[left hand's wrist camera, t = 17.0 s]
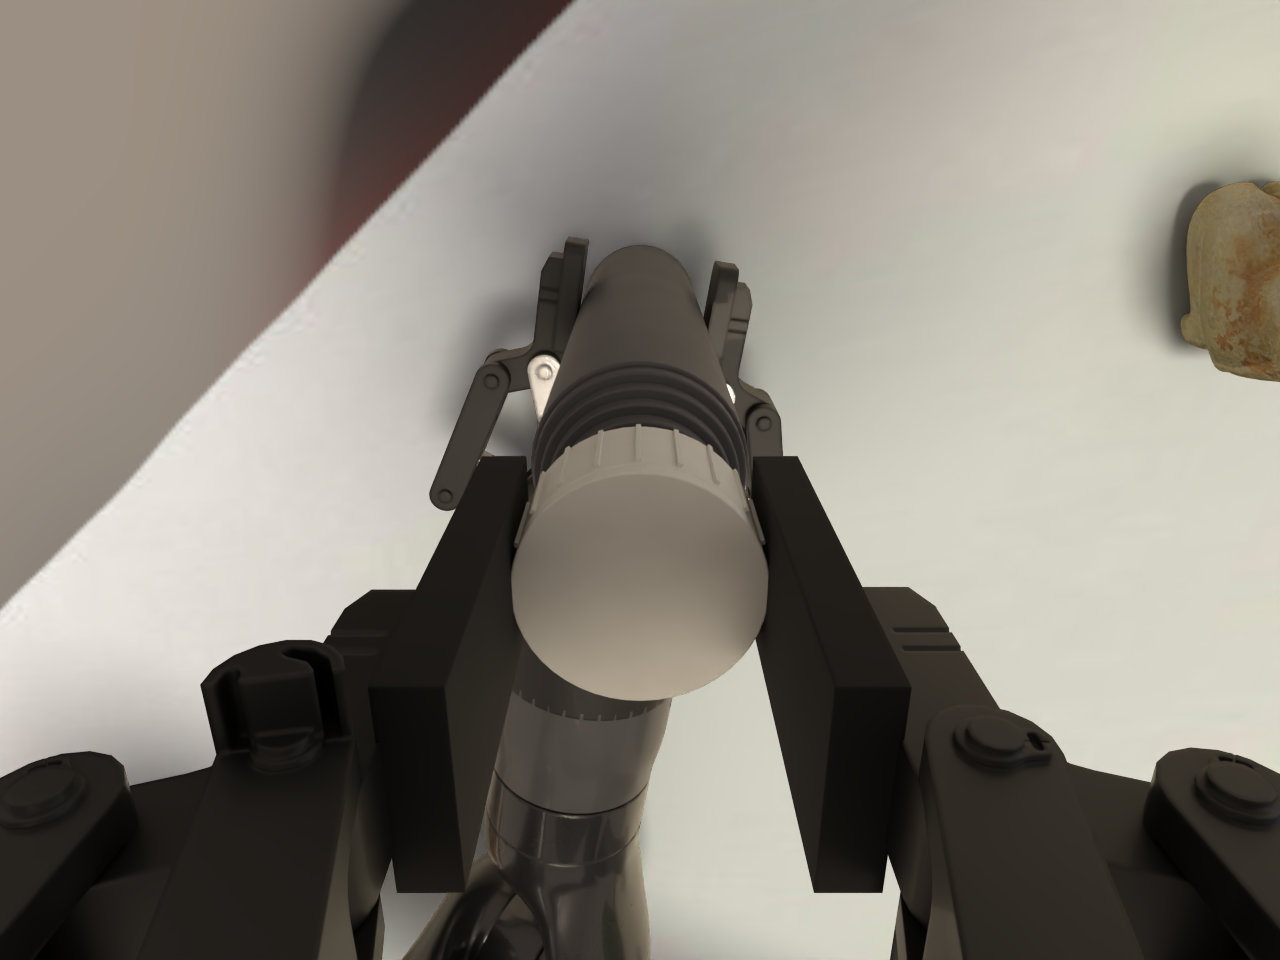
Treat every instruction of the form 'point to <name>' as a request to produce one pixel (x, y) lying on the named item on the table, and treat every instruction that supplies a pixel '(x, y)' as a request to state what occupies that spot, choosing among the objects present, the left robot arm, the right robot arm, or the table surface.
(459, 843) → the left robot arm
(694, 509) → the cap
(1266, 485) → the table surface
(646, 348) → the bottle
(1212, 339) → the sculpture
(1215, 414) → the table surface
